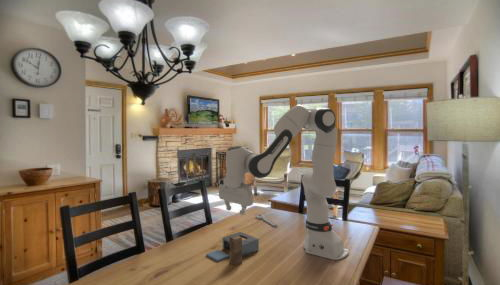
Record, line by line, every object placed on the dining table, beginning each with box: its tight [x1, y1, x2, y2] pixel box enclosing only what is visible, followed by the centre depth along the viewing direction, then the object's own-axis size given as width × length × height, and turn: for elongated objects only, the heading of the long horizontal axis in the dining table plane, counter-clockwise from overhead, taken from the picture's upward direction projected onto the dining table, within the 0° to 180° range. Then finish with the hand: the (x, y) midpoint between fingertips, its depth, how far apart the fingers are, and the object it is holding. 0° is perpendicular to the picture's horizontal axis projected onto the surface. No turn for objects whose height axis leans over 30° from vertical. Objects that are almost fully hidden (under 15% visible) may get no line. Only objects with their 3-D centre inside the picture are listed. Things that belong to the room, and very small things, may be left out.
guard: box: [222, 231, 260, 258], centre depth 144 cm, size 14×12×6 cm
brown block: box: [229, 235, 243, 267], centre depth 130 cm, size 4×4×12 cm
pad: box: [205, 249, 230, 263], centre depth 136 cm, size 9×7×1 cm
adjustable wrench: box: [255, 214, 278, 228], centre depth 189 cm, size 25×6×2 cm, turn 21°
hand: (235, 212), depth 129 cm, fingers open, 8 cm apart
